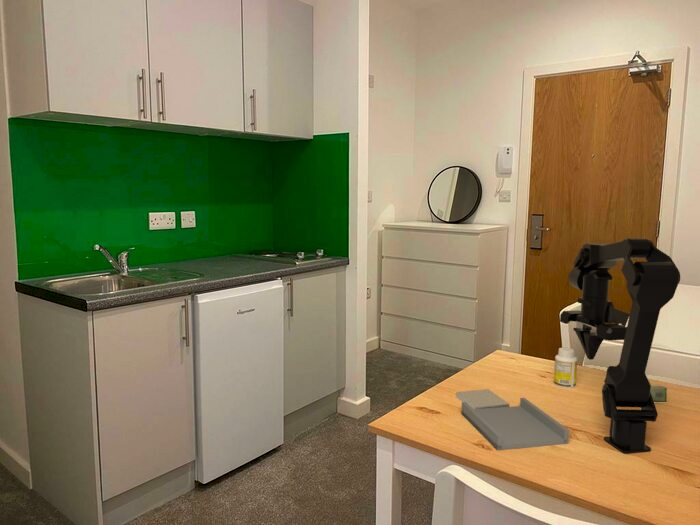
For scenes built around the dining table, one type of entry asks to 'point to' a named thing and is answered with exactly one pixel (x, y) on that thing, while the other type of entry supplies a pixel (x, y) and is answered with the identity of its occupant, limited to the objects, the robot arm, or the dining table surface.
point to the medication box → (658, 393)
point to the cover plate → (481, 399)
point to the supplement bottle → (565, 368)
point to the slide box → (516, 426)
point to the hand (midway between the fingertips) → (590, 359)
